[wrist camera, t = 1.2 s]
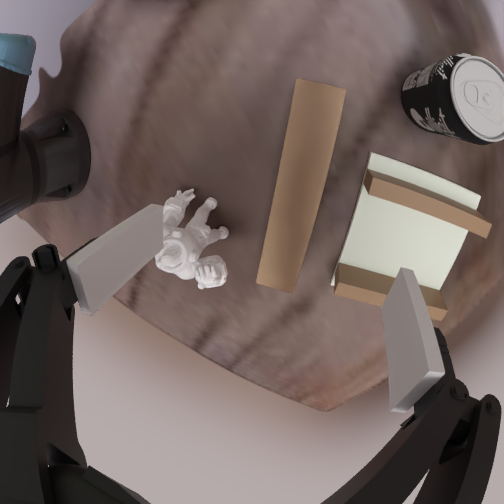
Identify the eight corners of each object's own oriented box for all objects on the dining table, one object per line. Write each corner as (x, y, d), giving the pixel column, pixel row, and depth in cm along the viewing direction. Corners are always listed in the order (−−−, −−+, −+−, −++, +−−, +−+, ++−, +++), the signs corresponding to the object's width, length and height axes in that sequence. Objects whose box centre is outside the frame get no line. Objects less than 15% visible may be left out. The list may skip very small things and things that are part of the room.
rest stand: (330, 280, 32) (329, 306, 28) (370, 151, 24) (378, 158, 20) (426, 305, 30) (434, 331, 26) (477, 193, 22) (497, 208, 18)
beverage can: (453, 138, 20) (517, 159, 10) (398, 125, 22) (444, 134, 12) (455, 80, 17) (518, 70, 7) (399, 65, 19) (442, 36, 9)
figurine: (261, 223, 31) (223, 282, 21) (243, 255, 34) (203, 319, 24) (186, 181, 31) (121, 219, 21) (174, 215, 34) (115, 261, 24)
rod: (268, 255, 33) (255, 283, 28) (303, 86, 23) (296, 78, 18) (300, 264, 33) (292, 293, 28) (342, 95, 22) (346, 89, 17)
